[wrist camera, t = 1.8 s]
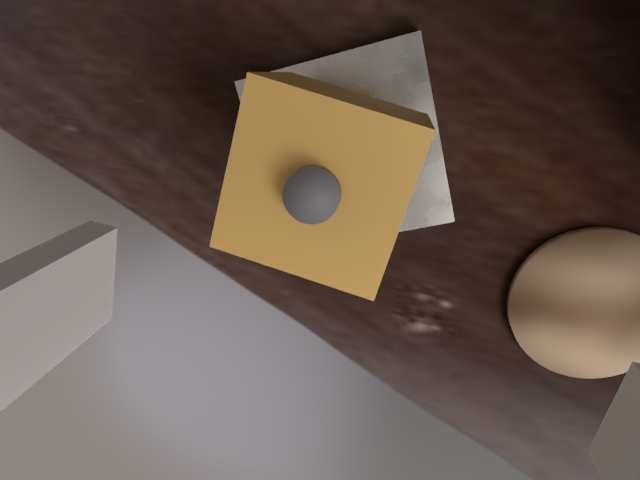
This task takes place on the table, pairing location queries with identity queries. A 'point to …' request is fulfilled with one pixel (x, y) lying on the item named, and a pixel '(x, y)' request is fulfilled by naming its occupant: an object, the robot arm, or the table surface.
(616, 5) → the table surface
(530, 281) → the cork pad
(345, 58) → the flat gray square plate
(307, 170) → the yellow knobbed cube
